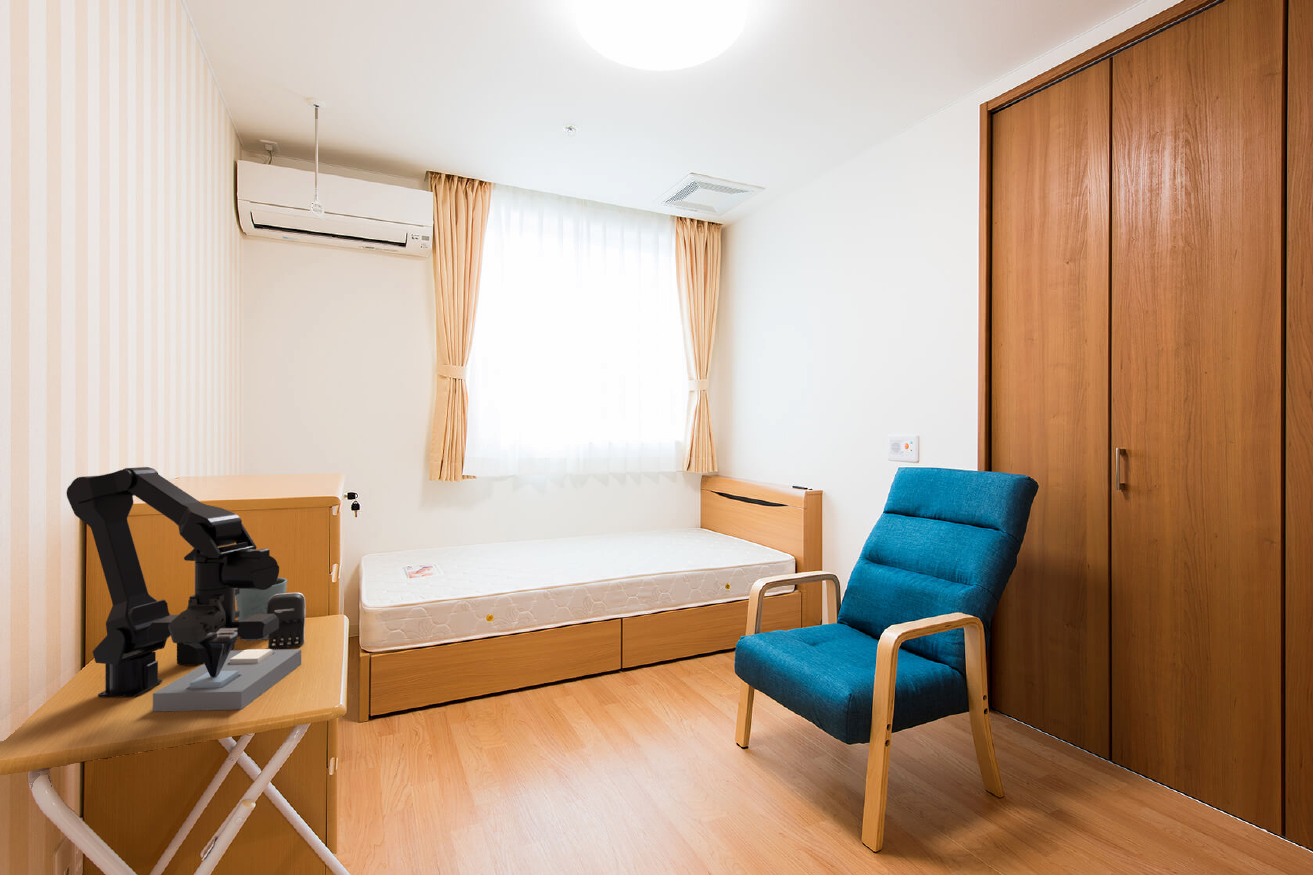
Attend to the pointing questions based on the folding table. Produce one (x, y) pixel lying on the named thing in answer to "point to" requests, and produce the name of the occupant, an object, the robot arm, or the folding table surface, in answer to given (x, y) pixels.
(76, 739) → the folding table surface
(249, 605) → the teal cup
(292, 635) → the battery charger
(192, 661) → the electronic device
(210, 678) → the slate key
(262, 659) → the ivory key
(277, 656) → the key panel
